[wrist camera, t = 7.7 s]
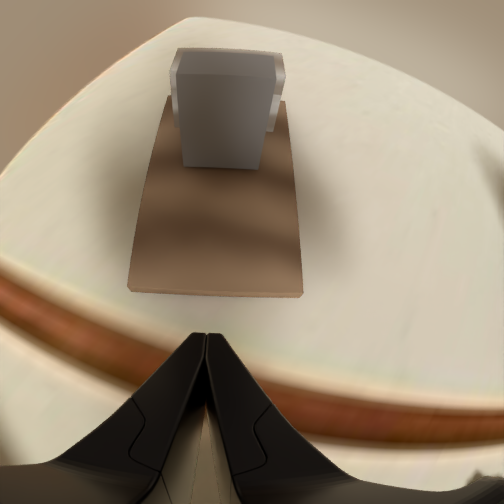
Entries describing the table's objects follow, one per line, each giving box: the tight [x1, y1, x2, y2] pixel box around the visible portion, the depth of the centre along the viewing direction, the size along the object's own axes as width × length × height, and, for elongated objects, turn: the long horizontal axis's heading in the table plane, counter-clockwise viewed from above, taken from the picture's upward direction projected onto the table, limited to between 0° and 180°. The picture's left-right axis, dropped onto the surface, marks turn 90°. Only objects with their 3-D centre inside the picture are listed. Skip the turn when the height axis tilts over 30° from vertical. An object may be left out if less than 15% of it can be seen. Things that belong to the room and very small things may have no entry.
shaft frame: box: [127, 48, 303, 298], centre depth 22 cm, size 20×12×8 cm, turn 0°
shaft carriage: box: [176, 52, 277, 170], centre depth 23 cm, size 13×6×9 cm, turn 0°
